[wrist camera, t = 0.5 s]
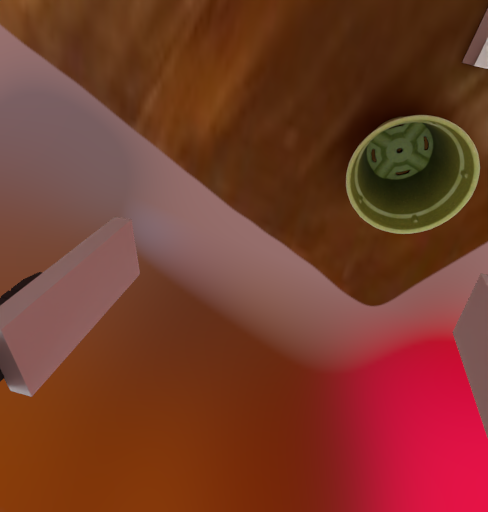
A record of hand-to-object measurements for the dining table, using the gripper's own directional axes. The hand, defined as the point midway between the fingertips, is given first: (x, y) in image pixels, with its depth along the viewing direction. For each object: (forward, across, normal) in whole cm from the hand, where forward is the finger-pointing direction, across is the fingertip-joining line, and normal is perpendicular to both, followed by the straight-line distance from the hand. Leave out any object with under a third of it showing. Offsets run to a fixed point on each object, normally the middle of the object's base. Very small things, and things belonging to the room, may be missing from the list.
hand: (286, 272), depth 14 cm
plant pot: (+26, +7, -2) cm, 27 cm away
